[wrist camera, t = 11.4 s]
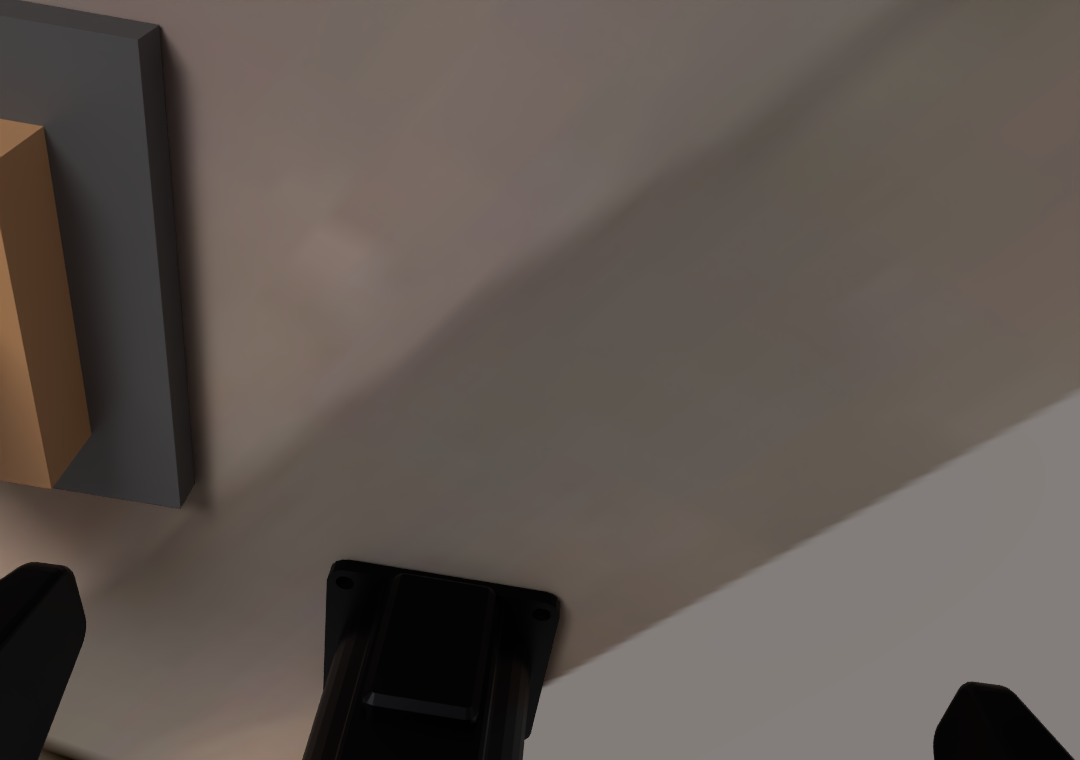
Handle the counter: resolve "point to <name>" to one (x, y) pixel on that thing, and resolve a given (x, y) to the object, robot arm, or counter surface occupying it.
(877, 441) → the counter surface
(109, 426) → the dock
